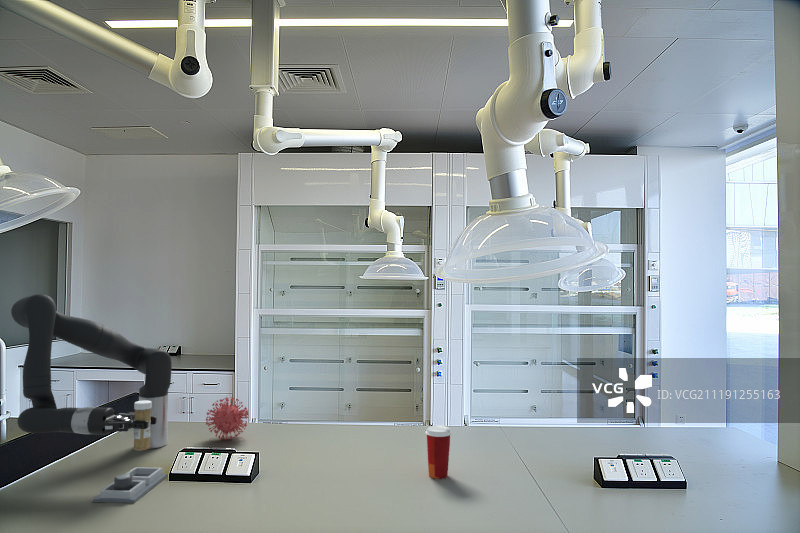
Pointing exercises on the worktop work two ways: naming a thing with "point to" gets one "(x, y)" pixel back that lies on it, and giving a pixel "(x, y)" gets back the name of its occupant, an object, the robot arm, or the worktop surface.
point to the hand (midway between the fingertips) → (151, 422)
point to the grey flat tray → (131, 485)
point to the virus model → (227, 418)
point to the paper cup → (438, 451)
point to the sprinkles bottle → (142, 434)
